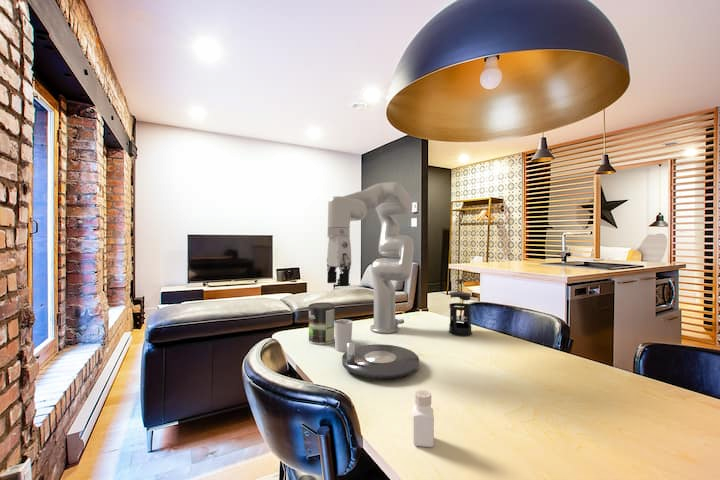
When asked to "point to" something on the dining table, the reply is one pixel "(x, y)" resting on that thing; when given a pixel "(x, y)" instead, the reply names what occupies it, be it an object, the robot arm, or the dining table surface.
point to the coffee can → (321, 323)
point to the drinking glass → (342, 334)
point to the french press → (455, 327)
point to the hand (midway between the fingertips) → (337, 284)
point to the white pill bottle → (423, 420)
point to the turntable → (379, 360)
